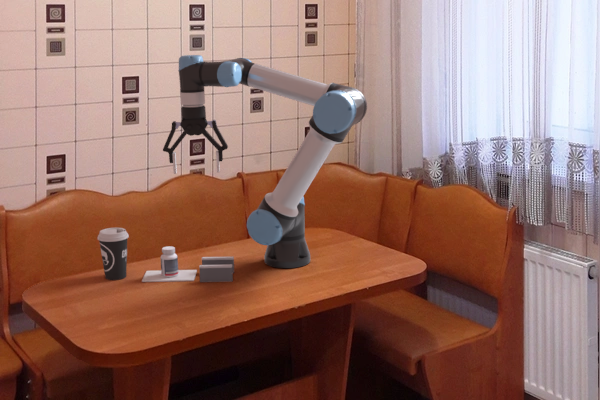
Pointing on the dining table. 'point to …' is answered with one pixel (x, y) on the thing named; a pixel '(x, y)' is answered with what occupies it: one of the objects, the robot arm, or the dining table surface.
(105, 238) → the coffee cup
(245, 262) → the dining table surface
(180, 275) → the mat
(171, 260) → the pill bottle
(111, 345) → the dining table surface
